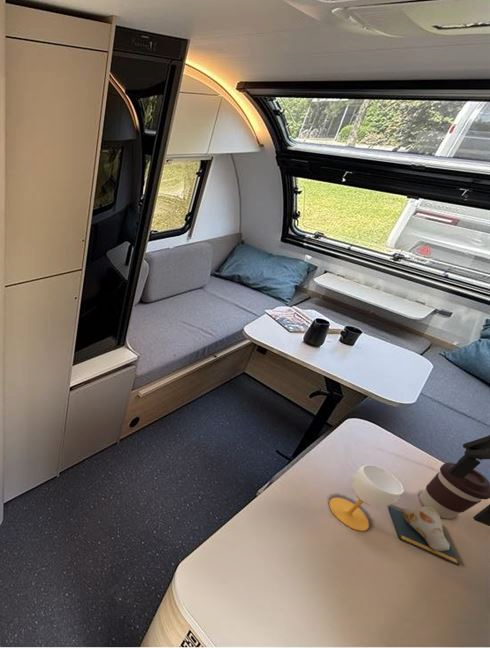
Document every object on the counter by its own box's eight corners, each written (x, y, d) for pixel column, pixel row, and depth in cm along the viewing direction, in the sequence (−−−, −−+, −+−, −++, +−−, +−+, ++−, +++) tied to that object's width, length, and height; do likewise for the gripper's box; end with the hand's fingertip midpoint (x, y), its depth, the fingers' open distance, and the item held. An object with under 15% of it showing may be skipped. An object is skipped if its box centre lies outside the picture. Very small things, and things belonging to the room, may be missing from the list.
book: (442, 529, 97) (443, 528, 96) (458, 565, 89) (460, 564, 89) (387, 506, 101) (388, 505, 101) (399, 539, 93) (400, 538, 93)
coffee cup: (444, 528, 97) (485, 496, 89) (404, 494, 105) (438, 462, 97) (466, 519, 100) (508, 488, 92) (425, 487, 108) (460, 455, 100)
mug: (428, 557, 90) (426, 518, 89) (396, 531, 99) (394, 496, 99) (463, 558, 88) (462, 519, 88) (428, 532, 98) (426, 497, 98)
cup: (325, 512, 98) (358, 477, 90) (332, 491, 104) (363, 456, 95) (366, 538, 93) (404, 503, 84) (370, 515, 98) (406, 480, 90)
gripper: (483, 396, 87) (427, 452, 97) (550, 477, 67) (471, 535, 78) (526, 409, 84) (463, 465, 95) (609, 496, 64) (518, 554, 75)
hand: (467, 497), depth 86 cm, fingers open, 13 cm apart
